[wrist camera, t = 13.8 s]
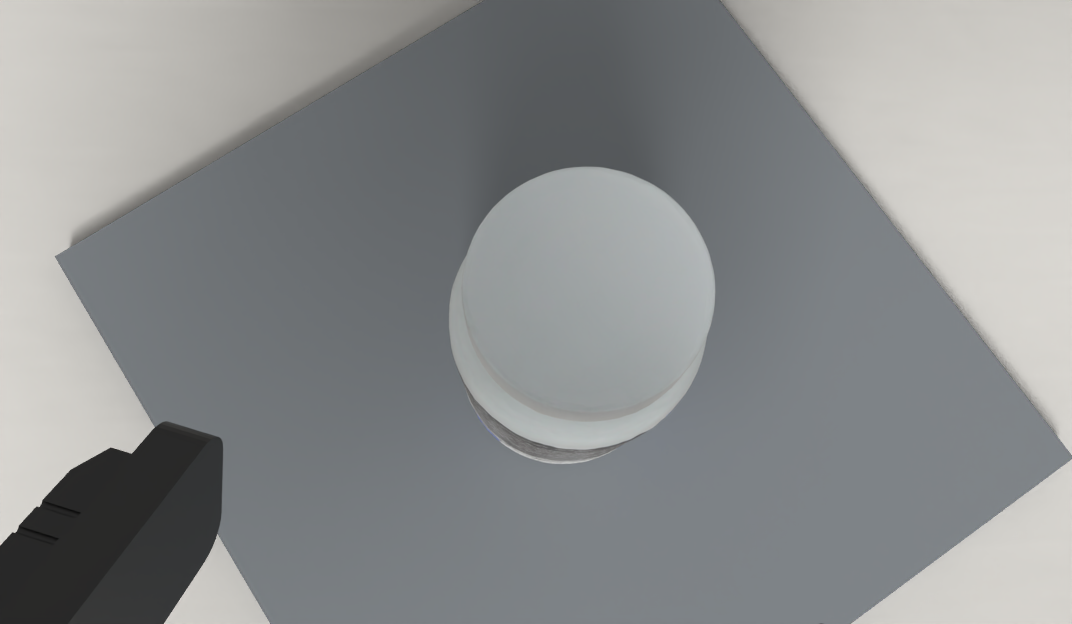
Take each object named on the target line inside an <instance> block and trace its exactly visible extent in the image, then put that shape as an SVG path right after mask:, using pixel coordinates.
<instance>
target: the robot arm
mask: <svg viewBox="0 0 1072 624" xmlns="http://www.w3.org/2000/svg"><path fill="white" fill-rule="evenodd" d="M222 479H223V442H222V439H221V438H220V437H217V436H214V435H211V434H207V433H204V432H201V431H198V430H194V429H191V428H188V427H184V426H181V425H178V424H175V423H171V422H168V421H165V422H162V423H160V424H159V425H157V426H156V427H155V428H154V429H153V430H152V431H151V432H150V434H149V435H148V436H147V437H146V438H145V439H144V441H143V442H142V443H141V444H140V445H139V446H138V447H137V449H136V450H135V451H134V452H133V453H132V454H130V453H127V452H124V451H120V450H117V449H114V448H109V449H107V450H106V451H104V452H102V453H100V454H98V455H97V456H95V457H93V458H91V459H89V460H87V461H86V462H84V463H82V464H80V465H78V466H77V467H75V468H73V469H71V470H70V471H69V472H68V473H67V474H66V476H65V477H64V478H63V479H62V480H61V481H60V482H59V483H58V484H57V485H56V486H55V487H54V488H53V490H52V491H51V492H50V493H49V494H48V495H47V496H46V497H45V498H44V499H43V500H42V504H41V506H40V507H36V508H35V509H34V510H33V511H32V512H31V513H30V514H29V515H28V516H27V517H26V519H25V520H24V521H23V522H22V523H21V524H20V525H19V528H18V530H17V532H16V533H12V534H11V535H10V536H9V537H8V538H7V539H6V540H5V541H4V542H3V543H2V544H1V545H0V624H164V622H165V621H166V619H167V618H168V616H169V615H170V613H171V612H172V610H173V609H174V607H175V606H176V604H177V603H178V601H179V600H180V598H181V597H182V595H183V594H184V592H185V591H186V589H187V588H188V586H189V585H190V583H191V582H192V580H193V578H194V577H195V575H196V574H197V572H198V571H199V569H200V568H201V566H202V565H203V563H204V562H205V560H206V558H207V557H208V555H209V553H210V551H211V549H212V546H213V544H214V542H215V539H216V536H217V533H218V530H219V526H220V522H221V514H222ZM820 624H822V623H820Z"/></svg>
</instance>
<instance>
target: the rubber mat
mask: <svg viewBox="0 0 1072 624" xmlns="http://www.w3.org/2000/svg"><path fill="white" fill-rule="evenodd" d="M573 167H603V168H608V169H613V170H618V171H622V172H626V173H629V174H632V175H634V176H636V177H638V178H641V179H643V180H645V181H647V182H649V183H651V184H653V185H655V186H656V187H658V188H660V189H661V190H663V191H664V192H665V193H667V194H668V195H669V196H671V197H672V198H673V199H674V200H675V201H676V202H677V203H678V204H679V205H680V206H681V207H682V208H683V209H684V210H685V212H686V213H687V214H688V215H689V217H690V218H691V219H692V221H693V222H694V224H695V225H696V227H697V229H698V230H699V232H700V234H701V236H702V238H703V240H704V242H705V244H706V246H707V249H708V251H709V254H710V258H711V262H712V266H713V271H714V277H715V305H714V313H713V317H712V322H711V326H710V329H709V332H708V335H707V339H706V345H705V349H704V353H703V357H702V361H701V363H700V366H699V369H698V372H697V374H696V376H695V378H694V380H693V382H692V384H691V385H690V387H689V389H688V391H687V392H686V394H685V395H684V396H683V398H682V399H681V400H680V401H679V403H678V404H677V405H676V406H675V407H674V409H673V410H672V411H671V412H670V413H669V414H668V415H667V416H666V417H665V418H664V419H662V420H661V421H660V422H659V423H658V424H657V425H655V426H654V427H653V428H652V429H650V430H648V431H647V432H645V433H644V434H642V435H640V436H638V437H637V438H635V439H633V440H631V441H629V442H626V443H625V444H623V445H622V446H620V447H618V448H617V449H615V450H613V451H611V452H610V453H608V454H606V455H604V456H602V457H599V458H596V459H593V460H589V461H586V462H581V463H573V464H552V463H545V462H540V461H537V460H533V459H530V458H527V457H525V456H522V455H520V454H518V453H516V452H515V451H513V450H511V449H510V448H508V447H506V446H505V445H504V444H502V443H501V442H500V441H499V440H497V439H496V438H495V437H494V436H493V435H492V434H491V433H490V432H489V431H488V430H487V428H486V427H485V426H484V424H483V423H482V422H481V421H480V419H479V418H478V416H477V414H476V412H475V411H474V408H473V406H472V405H471V403H470V400H469V398H468V395H467V392H466V389H465V387H464V384H463V381H462V379H461V376H460V374H459V372H458V369H457V366H456V363H455V361H454V358H453V354H452V349H451V340H450V331H449V304H450V297H451V291H452V286H453V283H454V281H455V278H456V276H457V273H458V271H459V269H460V266H461V264H462V262H463V260H464V259H465V257H466V255H467V252H468V249H469V247H470V244H471V242H472V239H473V237H474V235H475V233H476V231H477V229H478V227H479V226H480V224H481V223H482V221H483V220H484V219H485V217H486V216H487V214H488V213H489V212H490V211H491V209H492V208H493V207H494V206H495V205H496V204H497V203H498V202H499V201H500V200H501V199H503V198H504V197H505V196H506V195H507V194H508V193H510V192H511V191H513V190H514V189H515V188H517V187H519V186H520V185H522V184H524V183H525V182H527V181H529V180H531V179H534V178H536V177H538V176H541V175H543V174H545V173H548V172H552V171H555V170H560V169H565V168H573ZM55 258H56V259H57V261H58V263H59V264H60V266H61V268H62V270H63V271H64V273H65V275H66V276H67V278H68V280H69V281H70V283H71V285H72V287H73V288H74V290H75V292H76V293H77V295H78V297H79V298H80V300H81V302H82V304H83V305H84V307H85V309H86V310H87V312H88V314H89V316H90V317H91V319H92V321H93V322H94V324H95V326H96V327H97V329H98V331H99V333H100V334H101V336H102V338H103V339H104V341H105V343H106V344H107V346H108V348H109V350H110V351H111V353H112V355H113V356H114V358H115V360H116V362H117V363H118V365H119V367H120V368H121V370H122V372H123V373H124V375H125V377H126V379H127V380H128V382H129V384H130V385H131V387H132V389H133V390H134V392H135V394H136V396H137V397H138V399H139V401H140V402H141V404H142V406H143V408H144V409H145V411H146V413H147V414H148V416H149V418H150V419H151V421H152V423H153V425H154V426H155V427H156V426H157V425H159V424H160V423H162V422H165V421H168V422H171V423H175V424H178V425H181V426H184V427H188V428H191V429H194V430H198V431H201V432H204V433H207V434H211V435H214V436H217V437H220V438H221V439H222V442H223V479H222V514H221V522H220V526H219V530H218V533H217V534H218V535H219V537H220V539H221V540H222V542H223V544H224V546H225V547H226V549H227V551H228V552H229V554H230V556H231V557H232V559H233V561H234V563H235V564H236V566H237V568H238V569H239V571H240V573H241V574H242V576H243V578H244V580H245V581H246V583H247V585H248V586H249V588H250V590H251V592H252V593H253V595H254V597H255V598H256V600H257V602H258V603H259V605H260V607H261V609H262V610H263V612H264V614H265V615H266V617H267V619H268V620H269V622H270V624H820V623H822V624H851V623H852V622H854V621H855V620H856V619H858V618H859V617H860V616H862V615H863V614H864V613H866V612H867V611H868V610H870V609H871V608H872V607H874V606H875V605H876V604H878V603H879V602H880V601H882V600H883V599H884V598H886V597H887V596H888V595H890V594H891V593H892V592H894V591H895V590H896V589H898V588H899V587H901V586H902V585H903V584H905V583H906V582H907V581H909V580H910V579H911V578H913V577H914V576H915V575H917V574H918V573H919V572H921V571H922V570H923V569H925V568H926V567H927V566H929V565H930V564H931V563H933V562H934V561H935V560H937V559H938V558H939V557H941V556H942V555H944V554H945V553H946V552H948V551H949V550H950V549H952V548H953V547H954V546H956V545H957V544H958V543H960V542H961V541H962V540H964V539H965V538H966V537H968V536H969V535H970V534H972V533H973V532H974V531H976V530H977V529H978V528H980V527H981V526H982V525H984V524H985V523H987V522H988V521H989V520H991V519H992V518H993V517H995V516H996V515H997V514H999V513H1000V512H1001V511H1003V510H1004V509H1005V508H1007V507H1008V506H1009V505H1011V504H1012V503H1013V502H1015V501H1016V500H1017V499H1019V498H1020V497H1021V496H1023V495H1024V494H1025V493H1027V492H1028V491H1029V490H1031V489H1032V488H1034V487H1035V486H1036V485H1038V484H1039V483H1040V482H1042V481H1043V480H1044V479H1046V478H1047V477H1048V476H1050V475H1051V474H1052V473H1054V472H1055V471H1056V470H1058V469H1059V468H1060V467H1062V466H1063V465H1064V464H1066V463H1067V462H1068V461H1070V460H1071V459H1072V455H1071V454H1070V453H1069V451H1068V450H1067V449H1066V447H1065V446H1064V445H1063V444H1062V442H1061V441H1060V440H1059V438H1058V437H1057V436H1056V434H1055V433H1054V432H1053V431H1052V429H1051V428H1050V427H1049V425H1048V424H1047V423H1046V422H1045V420H1044V419H1043V418H1042V416H1041V415H1040V414H1039V413H1038V411H1037V410H1036V409H1035V407H1034V406H1033V405H1032V403H1031V402H1030V401H1029V400H1028V398H1027V397H1026V396H1025V394H1024V393H1023V392H1022V391H1021V389H1020V388H1019V387H1018V385H1017V384H1016V383H1015V381H1014V380H1013V379H1012V378H1011V376H1010V375H1009V374H1008V372H1007V371H1006V370H1005V369H1004V367H1003V366H1002V365H1001V363H1000V362H999V361H998V360H997V358H996V357H995V356H994V354H993V353H992V352H991V350H990V349H989V348H988V347H987V345H986V344H985V343H984V341H983V340H982V339H981V338H980V336H979V335H978V334H977V332H976V331H975V330H974V329H973V327H972V326H971V325H970V323H969V322H968V321H967V319H966V318H965V317H964V316H963V314H962V313H961V312H960V310H959V309H958V308H957V307H956V305H955V304H954V303H953V301H952V300H951V299H950V297H949V296H948V295H947V294H946V292H945V291H944V290H943V288H942V287H941V286H940V285H939V283H938V282H937V281H936V279H935V278H934V277H933V276H932V274H931V273H930V272H929V270H928V269H927V268H926V266H925V265H924V264H923V263H922V261H921V260H920V259H919V257H918V256H917V255H916V254H915V252H914V251H913V250H912V248H911V247H910V246H909V245H908V243H907V242H906V241H905V239H904V238H903V237H902V235H901V234H900V233H899V232H898V230H897V229H896V228H895V226H894V225H893V224H892V223H891V221H890V220H889V219H888V217H887V216H886V215H885V213H884V212H883V211H882V210H881V208H880V207H879V206H878V204H877V203H876V202H875V201H874V199H873V198H872V197H871V195H870V194H869V193H868V192H867V190H866V189H865V188H864V186H863V185H862V184H861V182H860V181H859V180H858V179H857V177H856V176H855V175H854V173H853V172H852V171H851V170H850V168H849V167H848V166H847V164H846V163H845V162H844V161H843V159H842V158H841V157H840V155H839V154H838V153H837V151H836V150H835V149H834V148H833V146H832V145H831V144H830V142H829V141H828V140H827V139H826V137H825V136H824V135H823V133H822V132H821V131H820V130H819V128H818V127H817V126H816V124H815V123H814V122H813V120H812V119H811V118H810V117H809V115H808V114H807V113H806V111H805V110H804V109H803V108H802V106H801V105H800V104H799V102H798V101H797V100H796V98H795V97H794V96H793V95H792V93H791V92H790V91H789V89H788V88H787V87H786V86H785V84H784V83H783V82H782V80H781V79H780V78H779V77H778V75H777V74H776V73H775V71H774V70H773V69H772V67H771V66H770V65H769V64H768V62H767V61H766V60H765V58H764V57H763V56H762V55H761V53H760V52H759V51H758V49H757V48H756V47H755V46H754V44H753V43H752V42H751V40H750V39H749V38H748V36H747V35H746V34H745V33H744V31H743V30H742V29H741V27H740V26H739V25H738V24H737V22H736V21H735V20H734V18H733V17H732V16H731V14H730V13H729V12H728V11H727V9H726V8H725V7H724V5H723V4H722V3H721V2H720V0H484V1H482V2H481V3H479V4H477V5H476V6H474V7H472V8H471V9H469V10H467V11H466V12H464V13H462V14H461V15H459V16H457V17H456V18H454V19H452V20H451V21H449V22H447V23H445V24H444V25H442V26H440V27H439V28H437V29H435V30H434V31H432V32H430V33H429V34H427V35H425V36H424V37H422V38H420V39H419V40H417V41H415V42H414V43H412V44H410V45H409V46H407V47H405V48H404V49H402V50H400V51H399V52H397V53H395V54H394V55H392V56H390V57H389V58H387V59H385V60H383V61H382V62H380V63H378V64H377V65H375V66H373V67H372V68H370V69H368V70H367V71H365V72H363V73H362V74H360V75H358V76H357V77H355V78H353V79H352V80H350V81H348V82H347V83H345V84H343V85H342V86H340V87H338V88H337V89H335V90H333V91H332V92H330V93H328V94H327V95H325V96H323V97H321V98H320V99H318V100H316V101H315V102H313V103H311V104H310V105H308V106H306V107H305V108H303V109H301V110H300V111H298V112H296V113H295V114H293V115H291V116H290V117H288V118H286V119H285V120H283V121H281V122H280V123H278V124H276V125H275V126H273V127H271V128H270V129H268V130H266V131H265V132H263V133H261V134H259V135H258V136H256V137H254V138H253V139H251V140H249V141H248V142H246V143H244V144H243V145H241V146H239V147H238V148H236V149H234V150H233V151H231V152H229V153H228V154H226V155H224V156H223V157H221V158H219V159H218V160H216V161H214V162H213V163H211V164H209V165H208V166H206V167H204V168H203V169H201V170H199V171H197V172H196V173H194V174H192V175H191V176H189V177H187V178H186V179H184V180H182V181H181V182H179V183H177V184H176V185H174V186H172V187H171V188H169V189H167V190H166V191H164V192H162V193H161V194H159V195H157V196H156V197H154V198H152V199H151V200H149V201H147V202H146V203H144V204H142V205H141V206H139V207H137V208H135V209H134V210H132V211H130V212H129V213H127V214H125V215H124V216H122V217H120V218H119V219H117V220H115V221H114V222H112V223H110V224H109V225H107V226H105V227H104V228H102V229H100V230H99V231H97V232H95V233H94V234H92V235H90V236H89V237H87V238H85V239H84V240H82V241H80V242H79V243H77V244H75V245H73V246H72V247H70V248H68V249H67V250H65V251H63V252H62V253H60V254H58V255H57V256H55Z"/></svg>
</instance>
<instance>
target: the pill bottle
mask: <svg viewBox="0 0 1072 624" xmlns="http://www.w3.org/2000/svg"><path fill="white" fill-rule="evenodd" d="M714 305H715V277H714V271H713V266H712V262H711V258H710V254H709V251H708V249H707V246H706V244H705V242H704V240H703V238H702V236H701V234H700V232H699V230H698V229H697V227H696V225H695V224H694V222H693V221H692V219H691V218H690V217H689V215H688V214H687V213H686V212H685V210H684V209H683V208H682V207H681V206H680V205H679V204H678V203H677V202H676V201H675V200H674V199H673V198H672V197H671V196H669V195H668V194H667V193H665V192H664V191H663V190H661V189H660V188H658V187H656V186H655V185H653V184H651V183H649V182H647V181H645V180H643V179H641V178H638V177H636V176H634V175H632V174H629V173H626V172H622V171H618V170H613V169H608V168H603V167H573V168H565V169H560V170H555V171H552V172H548V173H545V174H543V175H541V176H538V177H536V178H534V179H531V180H529V181H527V182H525V183H524V184H522V185H520V186H519V187H517V188H515V189H514V190H513V191H511V192H510V193H508V194H507V195H506V196H505V197H504V198H503V199H501V200H500V201H499V202H498V203H497V204H496V205H495V206H494V207H493V208H492V209H491V211H490V212H489V213H488V214H487V216H486V217H485V219H484V220H483V221H482V223H481V224H480V226H479V227H478V229H477V231H476V233H475V235H474V237H473V239H472V242H471V244H470V247H469V249H468V252H467V255H466V257H465V259H464V260H463V262H462V264H461V266H460V269H459V271H458V273H457V276H456V278H455V281H454V283H453V286H452V291H451V297H450V304H449V331H450V340H451V349H452V354H453V358H454V361H455V363H456V366H457V369H458V372H459V374H460V376H461V379H462V381H463V384H464V387H465V389H466V392H467V395H468V398H469V400H470V403H471V405H472V406H473V408H474V411H475V412H476V414H477V416H478V418H479V419H480V421H481V422H482V423H483V424H484V426H485V427H486V428H487V430H488V431H489V432H490V433H491V434H492V435H493V436H494V437H495V438H496V439H497V440H499V441H500V442H501V443H502V444H504V445H505V446H506V447H508V448H510V449H511V450H513V451H515V452H516V453H518V454H520V455H522V456H525V457H527V458H530V459H533V460H537V461H540V462H545V463H552V464H573V463H581V462H586V461H589V460H593V459H596V458H599V457H602V456H604V455H606V454H608V453H610V452H611V451H613V450H615V449H617V448H618V447H620V446H622V445H623V444H625V443H626V442H629V441H631V440H633V439H635V438H637V437H638V436H640V435H642V434H644V433H645V432H647V431H648V430H650V429H652V428H653V427H654V426H655V425H657V424H658V423H659V422H660V421H661V420H662V419H664V418H665V417H666V416H667V415H668V414H669V413H670V412H671V411H672V410H673V409H674V407H675V406H676V405H677V404H678V403H679V401H680V400H681V399H682V398H683V396H684V395H685V394H686V392H687V391H688V389H689V387H690V385H691V384H692V382H693V380H694V378H695V376H696V374H697V372H698V369H699V366H700V363H701V361H702V357H703V353H704V349H705V345H706V339H707V335H708V332H709V329H710V326H711V322H712V317H713V313H714Z"/></svg>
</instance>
